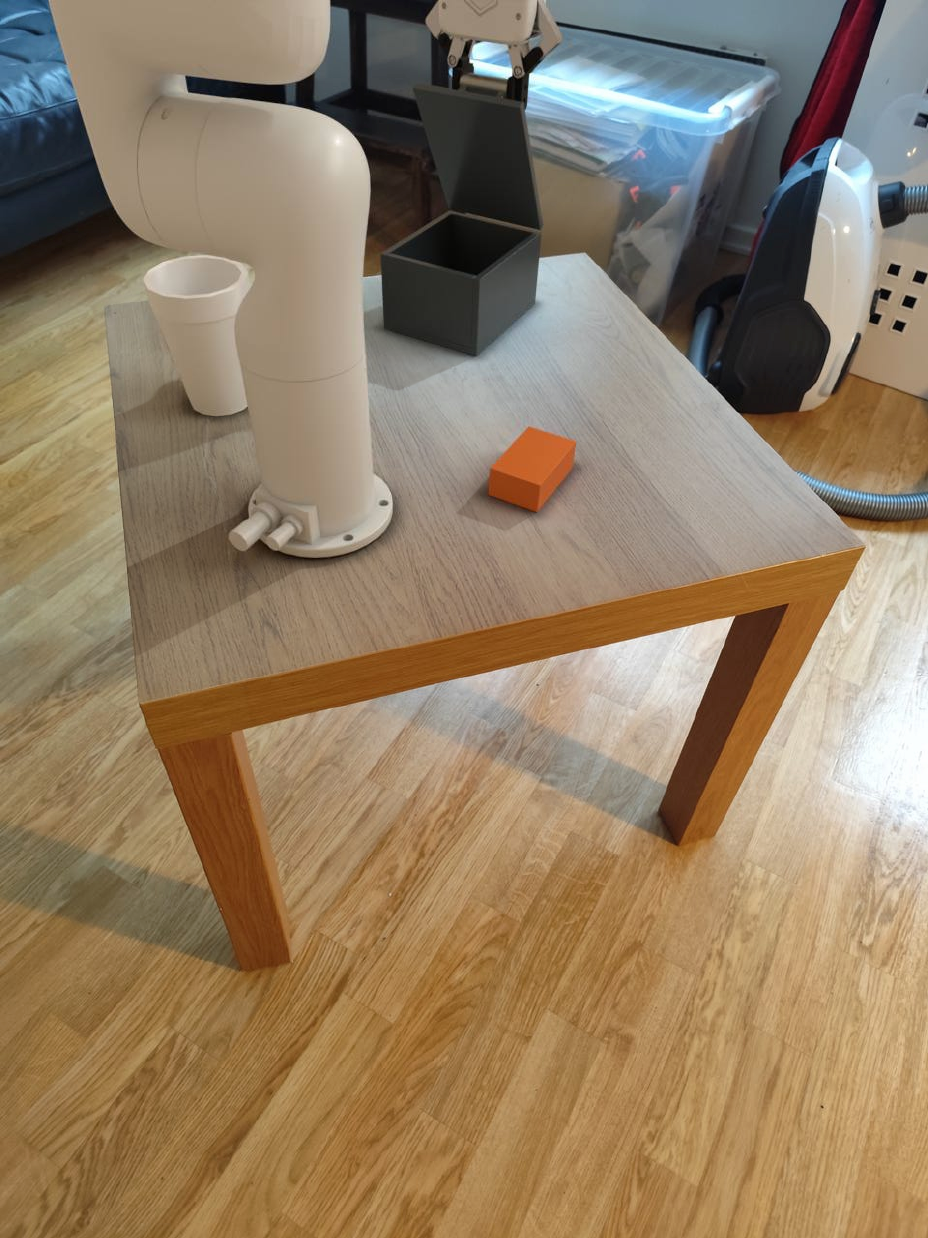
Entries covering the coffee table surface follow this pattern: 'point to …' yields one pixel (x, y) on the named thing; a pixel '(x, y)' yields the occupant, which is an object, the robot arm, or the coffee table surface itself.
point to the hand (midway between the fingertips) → (488, 111)
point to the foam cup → (202, 326)
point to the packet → (532, 468)
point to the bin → (460, 281)
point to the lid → (481, 149)
